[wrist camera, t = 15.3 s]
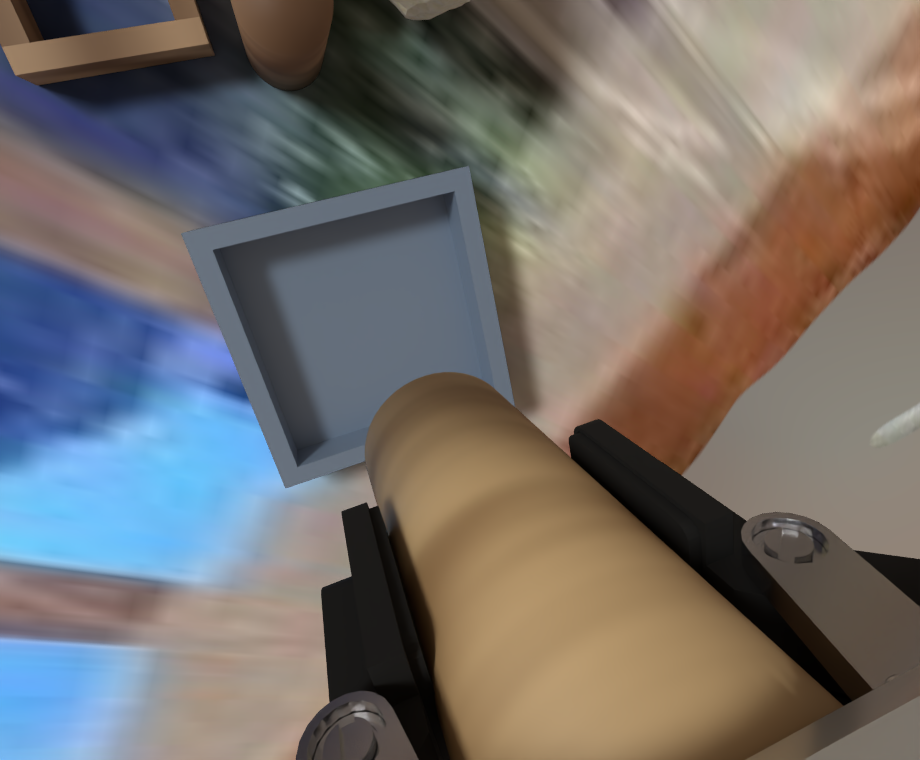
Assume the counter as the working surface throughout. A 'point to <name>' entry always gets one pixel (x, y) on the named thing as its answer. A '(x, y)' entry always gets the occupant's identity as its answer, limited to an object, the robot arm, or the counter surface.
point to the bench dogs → (285, 38)
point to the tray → (350, 310)
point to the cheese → (425, 7)
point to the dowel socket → (99, 45)
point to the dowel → (561, 600)
